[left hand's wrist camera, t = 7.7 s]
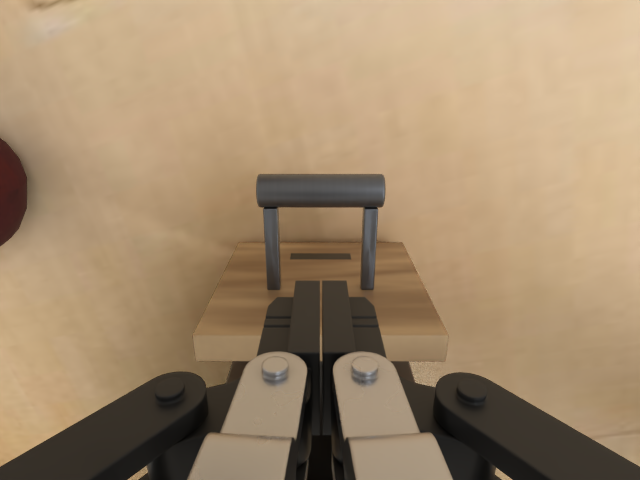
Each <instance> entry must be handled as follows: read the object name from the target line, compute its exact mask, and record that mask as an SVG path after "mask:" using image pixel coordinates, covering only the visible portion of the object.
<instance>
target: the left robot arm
mask: <svg viewBox="0 0 640 480" xmlns="http://www.w3.org/2000/svg"><path fill="white" fill-rule="evenodd" d="M322 402H323V435H331V438H332V474H333V480H501V479H500V478H499V477H497V476H496V475H495V470H496V468H498V469H499V470H500V471H502V472H503V473H505V474H506V475H507V476H509V477H510V478H511V479H513V480H640V467H639V466H637V465H636V464H634V463H632V462H630V461H629V460H627V459H625V458H624V457H622V456H620V455H618V454H617V453H615V452H613V451H611V450H610V449H608V448H606V447H604V446H603V445H601V444H599V443H598V442H596V441H594V440H592V439H591V438H589V437H587V436H585V435H584V434H582V433H580V432H578V431H577V430H575V429H573V428H571V427H570V426H568V425H566V424H565V423H563V422H561V421H559V420H558V419H556V418H554V417H552V416H551V415H549V414H547V413H545V412H544V411H542V410H540V409H539V408H537V407H535V406H533V405H532V404H530V403H528V402H526V401H525V400H523V399H521V398H519V397H518V396H516V395H514V394H512V393H511V392H509V391H507V390H506V389H504V388H502V387H500V386H499V385H497V384H495V383H493V382H492V381H490V380H488V379H486V378H484V377H481V376H479V375H475V374H471V373H462V372H460V373H451V374H448V375H445V376H443V377H442V378H441V379H439V381H438V382H437V384H436V388H435V387H430V386H426V385H422V384H418V383H414V382H411V381H409V380H406V379H404V378H402V377H401V376H399V375H398V373H397V371H396V368H395V366H394V365H393V364H392V362H390V361H389V360H388V359H387V357H386V353H385V349H384V345H383V341H382V337H381V332H380V328H379V324H378V320H377V316H376V311H375V307H374V305H373V304H372V303H371V302H370V301H369V300H368V299H366V298H365V297H349V295H348V287H347V281H346V280H322ZM311 435H320V281H295V289H294V297H277V298H276V299H275V300H274V301H273V302H272V303H271V304H270V305H269V306H268V308H267V313H266V319H265V321H264V328H263V330H262V335H261V339H260V343H259V348H258V352H257V356H256V357H255V358H253V359H252V360H251V361H250V362H248V364H247V365H246V366H245V368H244V371H243V373H242V376H241V378H239V379H237V380H235V381H232V382H230V383H226V384H222V385H218V386H213V387H209V388H206V385H205V382H204V380H203V379H202V378H201V377H200V376H198V375H196V374H194V373H190V372H171V373H167V374H163V375H161V376H158V377H156V378H154V379H152V380H150V381H148V382H147V383H145V384H143V385H141V386H140V387H138V388H136V389H134V390H133V391H131V392H129V393H128V394H126V395H124V396H122V397H121V398H119V399H117V400H115V401H114V402H112V403H110V404H108V405H107V406H105V407H103V408H102V409H100V410H98V411H96V412H95V413H93V414H91V415H89V416H88V417H86V418H84V419H82V420H81V421H79V422H77V423H75V424H74V425H72V426H70V427H69V428H67V429H65V430H63V431H62V432H60V433H58V434H56V435H55V436H53V437H51V438H49V439H48V440H46V441H44V442H43V443H41V444H39V445H37V446H36V447H34V448H32V449H30V450H29V451H27V452H25V453H23V454H22V455H20V456H18V457H16V458H15V459H13V460H11V461H10V462H8V463H6V464H4V465H3V466H1V467H0V480H127V479H129V478H130V477H131V476H133V475H134V474H135V473H137V472H138V471H140V470H141V469H142V468H144V467H145V466H146V465H147V469H148V473H147V474H145V475H144V476H143V477H141V478H140V479H139V480H307V474H308V457H309V455H310V452H311Z"/></svg>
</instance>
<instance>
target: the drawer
mask: <svg viewBox="0 0 640 480" xmlns="http://www.w3.org/2000/svg"><path fill="white" fill-rule="evenodd" d="M256 196H257V203H258V206H259V207H264V209H263V214H264V234H265V242H239V243H238V245H237V247H236V249H235V251H234V253H233V255H232V257H231V259H230V261H229V263H228V265H227V267H226V269H225V271H224V273H223V275H222V277H221V279H220V281H219V283H218V285H217V287H216V289H215V291H214V293H213V295H212V297H211V299H210V301H209V303H208V305H207V307H206V309H205V312H204V314H203V316H202V318H201V320H200V322H199V324H198V326H197V328H196V330H195V332H194V334H193V343H194V351H195V359H196V361H233V362H232V365H231V368H230V371H229V375H228V378H227V381H226V383H230V382H232V381H235V380H237V379H239V378H241V376H242V373H243V371H244V368H245V366H246V365H247V364H248V362H250V361H251V360H252V359H253V358H255V357H256V356H257V352H258V348H259V343H260V339H261V335H262V330H263V328H264V321H265V319H266V313H267V308H268V306H269V305H270V304H271V303H272V302H273V301H274V300H275V299H276V298H277V297H294V289H295V281H320V435H311V452H310V455H309V457H308V474H307V480H333V474H332V438H331V435H323V402H322V280H346V281H347V287H348V295H349V297H365V298H366V299H368V300H369V301H370V302H371V303H372V304H373V305H374V307H375V311H376V316H377V320H378V324H379V328H380V332H381V337H382V341H383V345H384V349H385V353H386V357H387V359H388V360H389V361H390V362H392V364H393V365H394V366H395V368H396V371H397V373H398V375H399V376H401V377H402V378H404V379H406V380H409V381H411V382H414V383H415V380H414V377H413V374H412V370H411V367H410V364H409V361H446V354H447V346H448V338H449V335H448V333H447V331H446V329H445V327H444V325H443V323H442V321H441V319H440V317H439V315H438V313H437V311H436V309H435V307H434V305H433V303H432V301H431V299H430V297H429V295H428V293H427V291H426V289H425V287H424V285H423V283H422V281H421V279H420V277H419V275H418V273H417V271H416V269H415V267H414V265H413V263H412V261H411V259H410V257H409V255H408V253H407V251H406V249H405V247H404V245H403V243H386V242H376V241H377V222H378V208H377V207H383V205H384V201H385V179H384V176H383V175H382V174H259V175H258V177H257V183H256ZM278 207H363V221H362V242H280V236H279V209H278Z"/></svg>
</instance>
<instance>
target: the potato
mask: <svg viewBox="0 0 640 480" xmlns="http://www.w3.org/2000/svg"><path fill="white" fill-rule="evenodd" d="M26 209H27V177H26V174H25V172H24V169H23V167H22V164H21V162H20V159H19V158H18V156H17V155H16V154H15V153H14V152H13V150H12V149H11V148H10V147H9V146H8V144H7V143H6V142H4V141H3V140H2V139H0V246H1V245H3V244H4V243H5V242H6V241H8V240H9V239H10V238H11V237H12V236H13V235H14V234H15V232H16V231H17V230H18V229H19V227H20V224H21V221H22V219H23V216H24V214H25V211H26Z"/></svg>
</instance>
